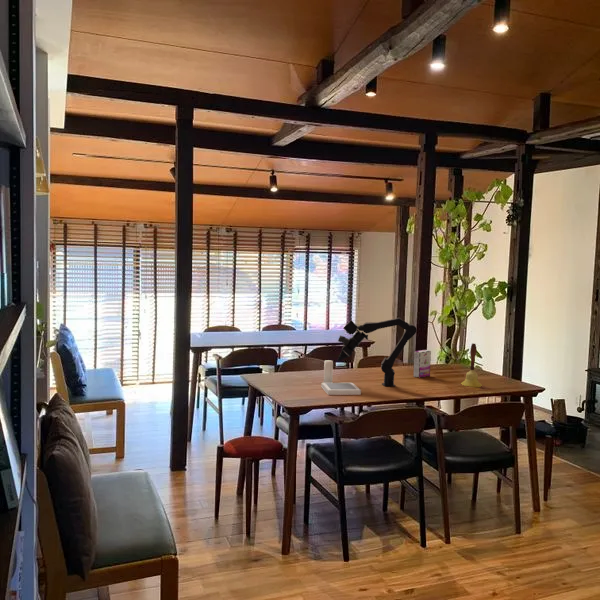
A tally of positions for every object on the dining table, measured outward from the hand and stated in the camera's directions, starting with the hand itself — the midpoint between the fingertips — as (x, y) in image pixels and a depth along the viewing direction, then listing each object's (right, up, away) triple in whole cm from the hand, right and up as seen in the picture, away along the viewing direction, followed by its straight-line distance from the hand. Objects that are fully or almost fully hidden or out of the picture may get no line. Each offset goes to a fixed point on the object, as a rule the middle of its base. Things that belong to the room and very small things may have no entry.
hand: (338, 359), depth 329 cm
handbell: (+80, -16, +7) cm, 82 cm away
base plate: (0, -15, -21) cm, 25 cm away
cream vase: (-6, -14, -2) cm, 15 cm away
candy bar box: (+55, -14, +27) cm, 63 cm away
